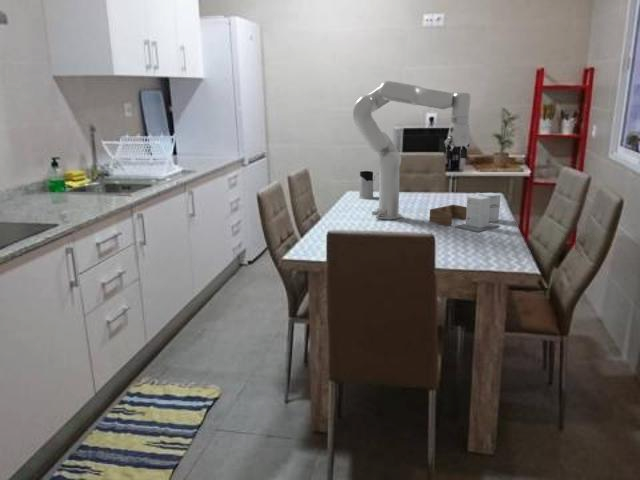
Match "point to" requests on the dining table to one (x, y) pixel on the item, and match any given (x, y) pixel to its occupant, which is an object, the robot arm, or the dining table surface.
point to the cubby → (447, 214)
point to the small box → (477, 211)
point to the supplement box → (493, 205)
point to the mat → (476, 229)
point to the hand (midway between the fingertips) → (456, 158)
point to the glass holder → (366, 184)
